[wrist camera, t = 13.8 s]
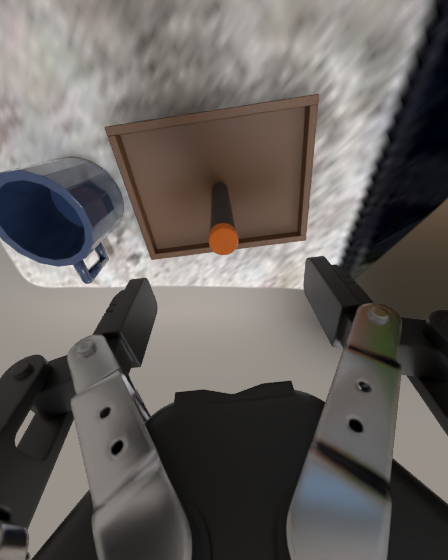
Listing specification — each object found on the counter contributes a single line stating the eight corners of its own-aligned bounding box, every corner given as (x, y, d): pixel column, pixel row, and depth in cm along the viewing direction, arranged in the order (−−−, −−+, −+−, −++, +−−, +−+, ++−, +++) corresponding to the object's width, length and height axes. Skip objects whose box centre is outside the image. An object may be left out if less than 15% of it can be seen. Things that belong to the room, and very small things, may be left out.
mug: (29, 163, 26) (-44, 178, 19) (105, 151, 26) (62, 163, 18) (81, 258, 34) (44, 296, 26) (142, 250, 33) (121, 287, 26)
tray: (111, 126, 25) (104, 127, 23) (312, 95, 24) (319, 93, 22) (154, 253, 33) (151, 259, 32) (301, 234, 32) (305, 240, 31)
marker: (210, 182, 28) (206, 229, 15) (227, 180, 28) (237, 226, 15) (212, 199, 29) (211, 257, 16) (229, 197, 29) (239, 253, 16)
